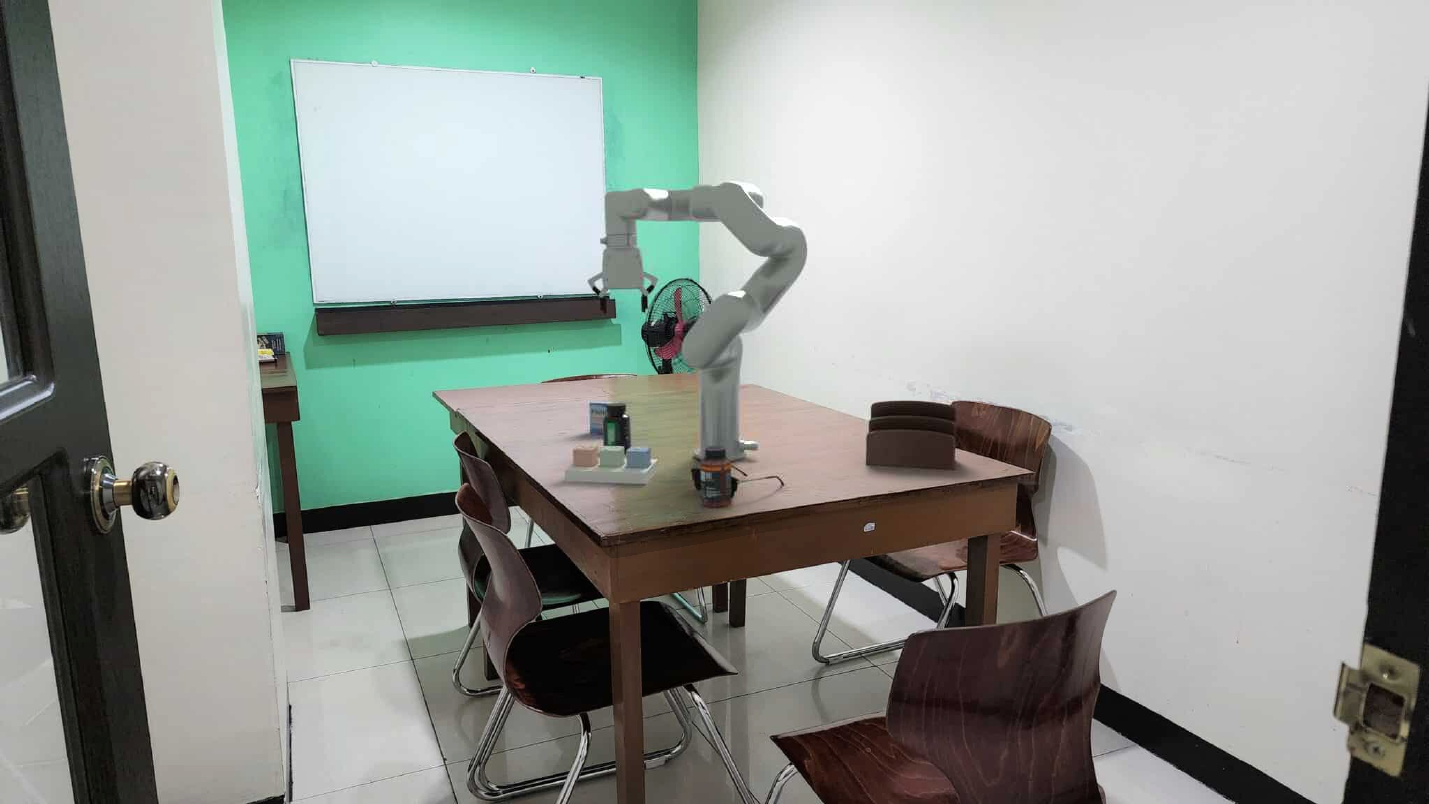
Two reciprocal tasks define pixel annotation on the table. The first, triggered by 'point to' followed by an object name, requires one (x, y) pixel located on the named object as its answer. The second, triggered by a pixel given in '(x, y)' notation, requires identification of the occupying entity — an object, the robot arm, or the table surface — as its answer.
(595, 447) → the pink three-dot die
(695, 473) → the sunglasses
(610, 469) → the board
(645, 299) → the robot arm
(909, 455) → the letter holder
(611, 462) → the pale green cube
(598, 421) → the medicine box
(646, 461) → the blue pull-out drawer
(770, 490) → the table surface
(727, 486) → the supplement bottle
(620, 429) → the supplement bottle
